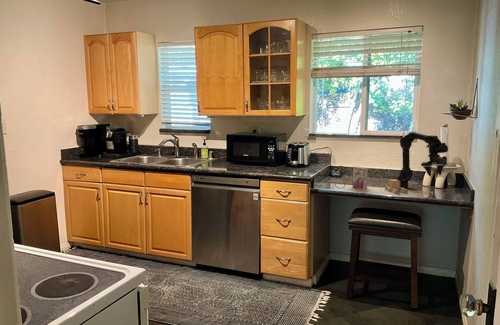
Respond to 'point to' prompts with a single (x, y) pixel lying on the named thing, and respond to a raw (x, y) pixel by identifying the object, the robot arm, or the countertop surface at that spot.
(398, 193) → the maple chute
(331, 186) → the countertop surface
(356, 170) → the candy bar box
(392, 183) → the terracotta block
